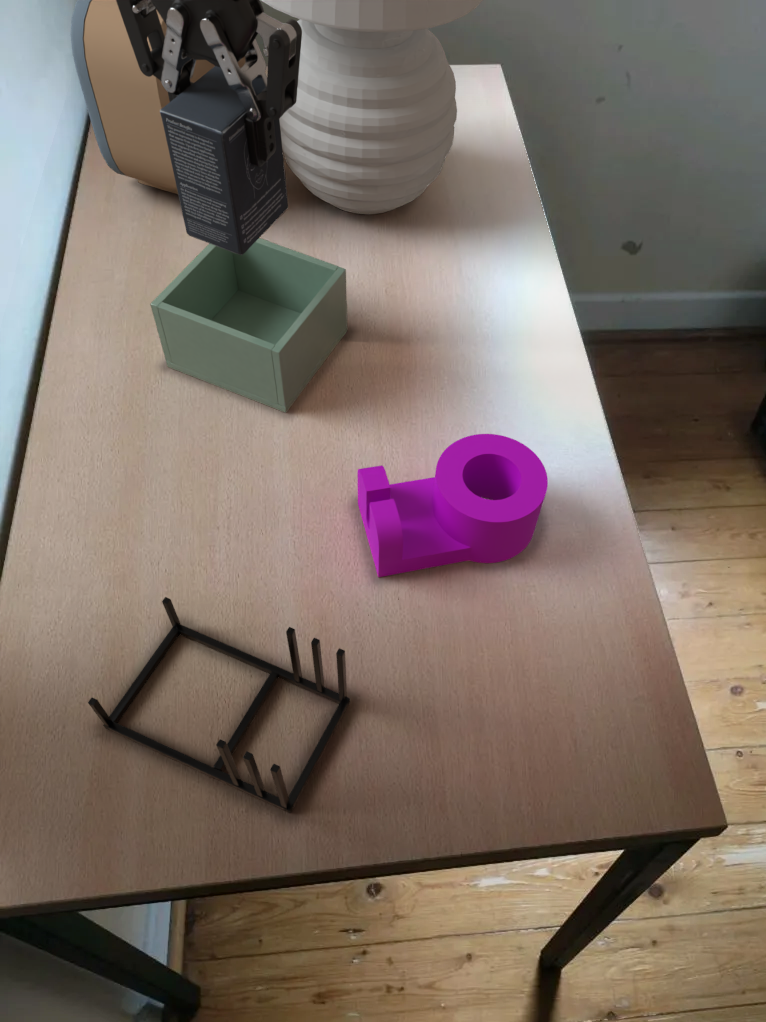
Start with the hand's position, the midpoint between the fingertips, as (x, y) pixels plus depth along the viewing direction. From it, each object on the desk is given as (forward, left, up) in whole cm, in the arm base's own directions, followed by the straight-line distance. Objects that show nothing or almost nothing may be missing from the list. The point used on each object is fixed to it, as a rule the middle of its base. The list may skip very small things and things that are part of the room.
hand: (227, 148), depth 64 cm
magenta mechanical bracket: (+26, -10, -23) cm, 36 cm away
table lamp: (-4, +33, -23) cm, 40 cm away
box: (0, 0, -7) cm, 7 cm away
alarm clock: (-24, +26, -23) cm, 42 cm away
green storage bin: (-1, +2, -22) cm, 23 cm away
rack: (+18, -35, -22) cm, 45 cm away
